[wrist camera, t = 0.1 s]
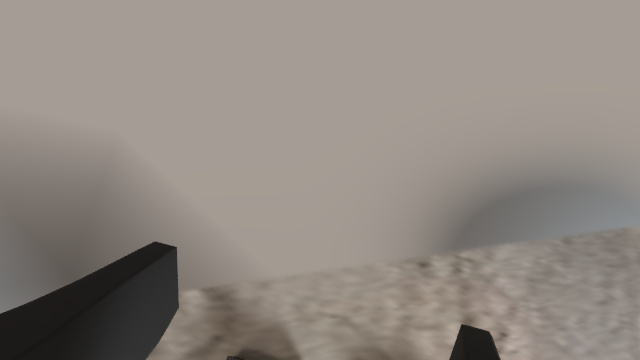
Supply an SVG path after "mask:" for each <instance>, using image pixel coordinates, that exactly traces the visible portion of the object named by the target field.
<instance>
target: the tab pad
mask: <svg viewBox="0 0 640 360" xmlns="http://www.w3.org/2000/svg"><path fill="white" fill-rule="evenodd" d="M227 360H243V359H240V358H236V357H232V356H228V357H227Z"/></svg>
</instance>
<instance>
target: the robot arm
mask: <svg viewBox="0 0 640 360" xmlns="http://www.w3.org/2000/svg"><path fill="white" fill-rule="evenodd" d="M178 308H179V301H178V274H177V247H174V246H170V245H167V244H163V243H159V242H153V243H151V244H149V245H147V246H145V247H143V248H141V249H139V250H137V251H135V252H133V253H131V254H129V255H127V256H125V257H123V258H121V259H119V260H117V261H115V262H113V263H111V264H109V265H107V266H105V267H104V268H101V269H100V270H97V271H95V272H93V273H92V274H89V275H87V276H85V277H84V278H82V279H80V280H77V281H75V282H73V283H71V284H69V285H67V286H64V287H62V288H60V289H58V290H56V291H54V292H52V293H49V294H47V295H45V296H42V297H40V298H38V299H36V300H34V301H31V302H29V303H26V304H24V305H22V306H19V307H17V308H14V309H12V310H9V311H6V312H4V313H1V314H0V360H146V358H147V357H148V356H149V354H150V353H151V352H152V350H153V349H154V348H155V346H156V345H157V344H158V342H159V341H160V339H161V337H162V336H163V334H164V332H165V331H166V329H167V327H168V326H169V324H170V322H171V320H172V319H173V317H174V315H175V313H176V311H177V310H178ZM450 360H501V359H500V357H499V354H498V351H497V349H496V346H495V343H494V340H493V337H492V336H491V334H490V332H489V331H485V330H482V329H478V328H474V327H471V326H467V325H463V324H461V327H460V330H459V333H458V336H457V339H456V342H455V345H454V348H453V351H452V354H451V357H450Z"/></svg>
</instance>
